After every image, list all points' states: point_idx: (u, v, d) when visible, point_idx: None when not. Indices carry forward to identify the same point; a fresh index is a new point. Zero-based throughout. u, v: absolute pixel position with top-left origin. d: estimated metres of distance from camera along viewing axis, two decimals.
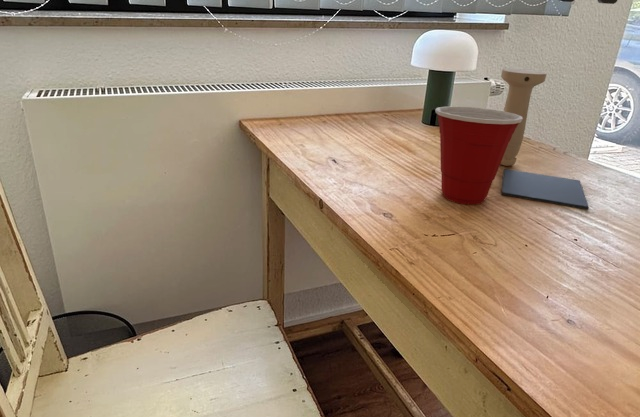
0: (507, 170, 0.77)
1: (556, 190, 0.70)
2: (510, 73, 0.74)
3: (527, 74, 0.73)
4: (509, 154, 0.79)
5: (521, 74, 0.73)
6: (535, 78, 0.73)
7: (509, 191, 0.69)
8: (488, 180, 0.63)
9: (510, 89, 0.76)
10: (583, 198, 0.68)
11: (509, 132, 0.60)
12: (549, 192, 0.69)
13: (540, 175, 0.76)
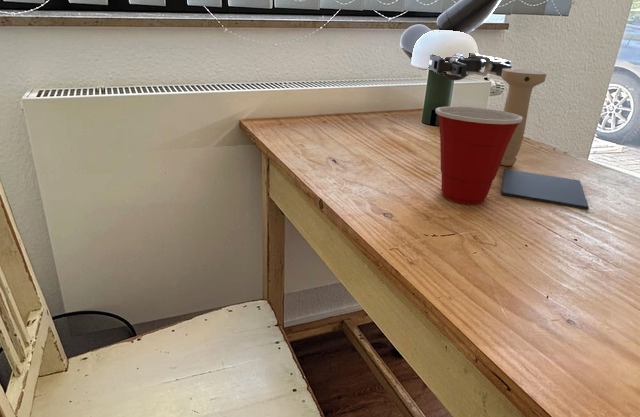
0: (507, 170, 0.77)
1: (556, 190, 0.70)
2: (510, 73, 0.74)
3: (527, 74, 0.73)
4: (509, 154, 0.79)
5: (521, 74, 0.73)
6: (535, 78, 0.73)
7: (509, 191, 0.69)
8: (488, 180, 0.63)
9: (510, 89, 0.76)
10: (583, 198, 0.68)
11: (509, 132, 0.60)
12: (549, 192, 0.69)
13: (540, 175, 0.76)
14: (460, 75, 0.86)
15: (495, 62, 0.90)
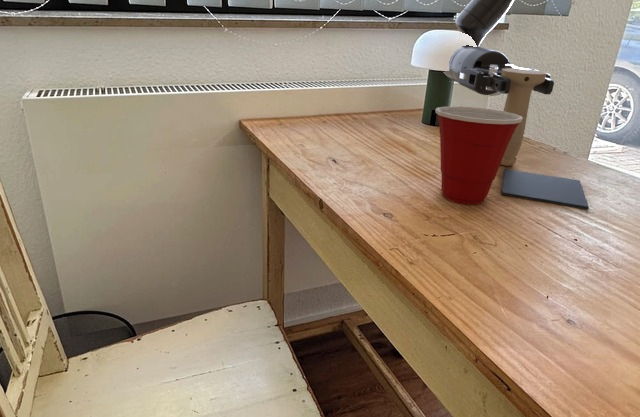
0: (507, 170, 0.77)
1: (556, 190, 0.70)
2: (510, 73, 0.74)
3: (527, 74, 0.73)
4: (509, 154, 0.79)
5: (521, 74, 0.73)
6: (535, 78, 0.73)
7: (509, 191, 0.69)
8: (488, 180, 0.63)
9: (510, 89, 0.76)
10: (583, 198, 0.68)
11: (509, 132, 0.60)
12: (549, 192, 0.69)
13: (540, 175, 0.76)
14: (503, 91, 0.74)
15: None
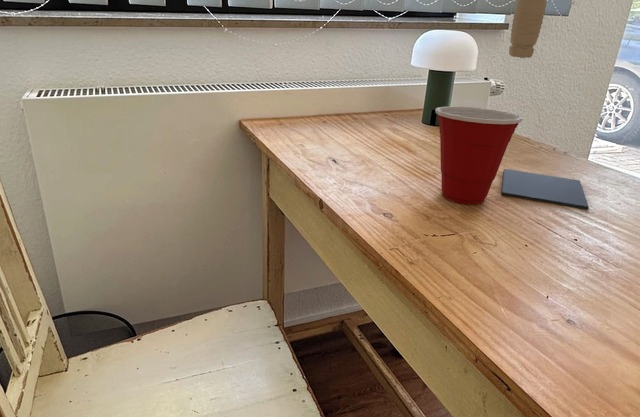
0: (507, 170, 0.77)
1: (556, 190, 0.70)
2: None
3: None
4: (526, 42, 0.69)
5: None
6: None
7: (509, 191, 0.69)
8: (488, 180, 0.63)
9: None
10: (583, 198, 0.68)
11: (509, 132, 0.60)
12: (549, 192, 0.69)
13: (540, 175, 0.76)
14: None
15: None
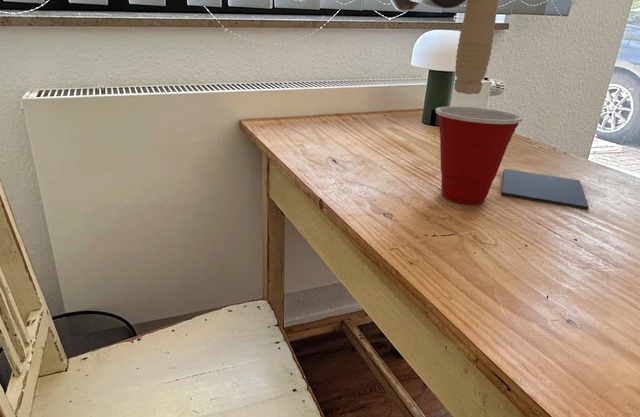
0: (507, 170, 0.77)
1: (556, 190, 0.70)
2: None
3: None
4: (472, 77, 0.59)
5: None
6: None
7: (509, 191, 0.69)
8: (488, 180, 0.63)
9: None
10: (583, 198, 0.68)
11: (509, 132, 0.60)
12: (549, 192, 0.69)
13: (540, 175, 0.76)
14: None
15: None
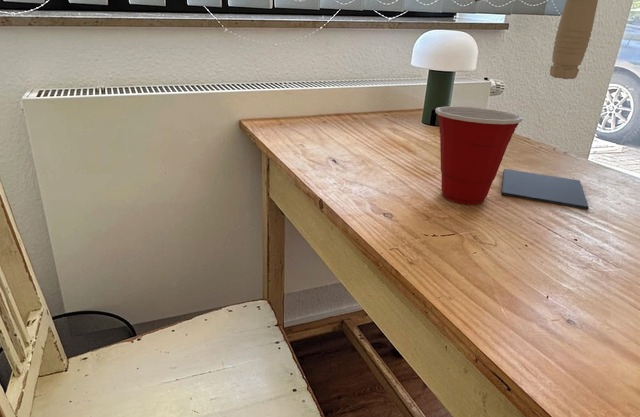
0: (507, 170, 0.77)
1: (556, 190, 0.70)
2: None
3: None
4: (571, 62, 0.62)
5: None
6: None
7: (509, 191, 0.69)
8: (488, 180, 0.63)
9: None
10: (583, 198, 0.68)
11: (509, 132, 0.60)
12: (549, 192, 0.69)
13: (540, 175, 0.76)
14: None
15: None
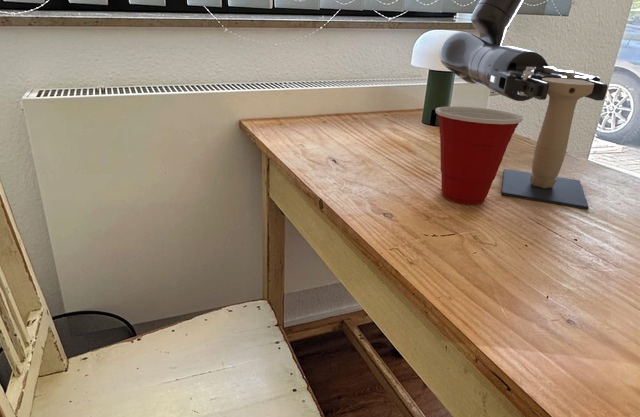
0: (507, 170, 0.77)
1: (556, 190, 0.70)
2: (552, 84, 0.64)
3: (572, 85, 0.64)
4: (548, 175, 0.69)
5: (565, 85, 0.64)
6: (582, 89, 0.64)
7: (509, 191, 0.69)
8: (488, 180, 0.63)
9: (551, 102, 0.66)
10: (583, 198, 0.68)
11: (509, 132, 0.60)
12: (549, 192, 0.69)
13: None
14: (539, 97, 0.64)
15: (580, 79, 0.69)
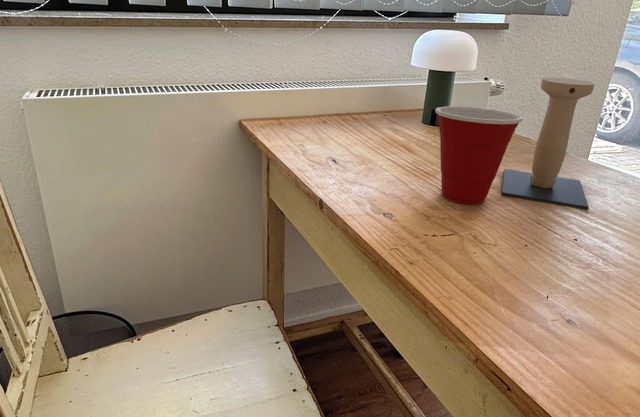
0: (507, 170, 0.77)
1: (556, 190, 0.70)
2: (552, 84, 0.64)
3: (572, 85, 0.64)
4: (548, 175, 0.69)
5: (565, 85, 0.64)
6: (582, 89, 0.64)
7: (509, 191, 0.69)
8: (488, 180, 0.63)
9: (551, 102, 0.66)
10: (583, 198, 0.68)
11: (509, 132, 0.60)
12: (549, 192, 0.69)
13: None
14: None
15: None
